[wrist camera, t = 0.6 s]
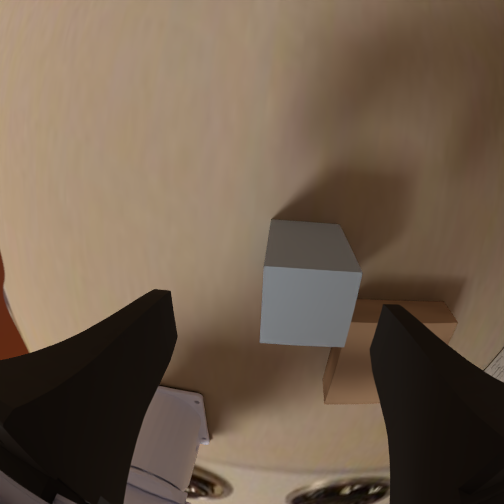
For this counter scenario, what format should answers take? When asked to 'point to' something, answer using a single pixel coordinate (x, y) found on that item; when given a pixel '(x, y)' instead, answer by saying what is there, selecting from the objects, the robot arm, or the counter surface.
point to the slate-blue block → (308, 285)
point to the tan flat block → (358, 344)
